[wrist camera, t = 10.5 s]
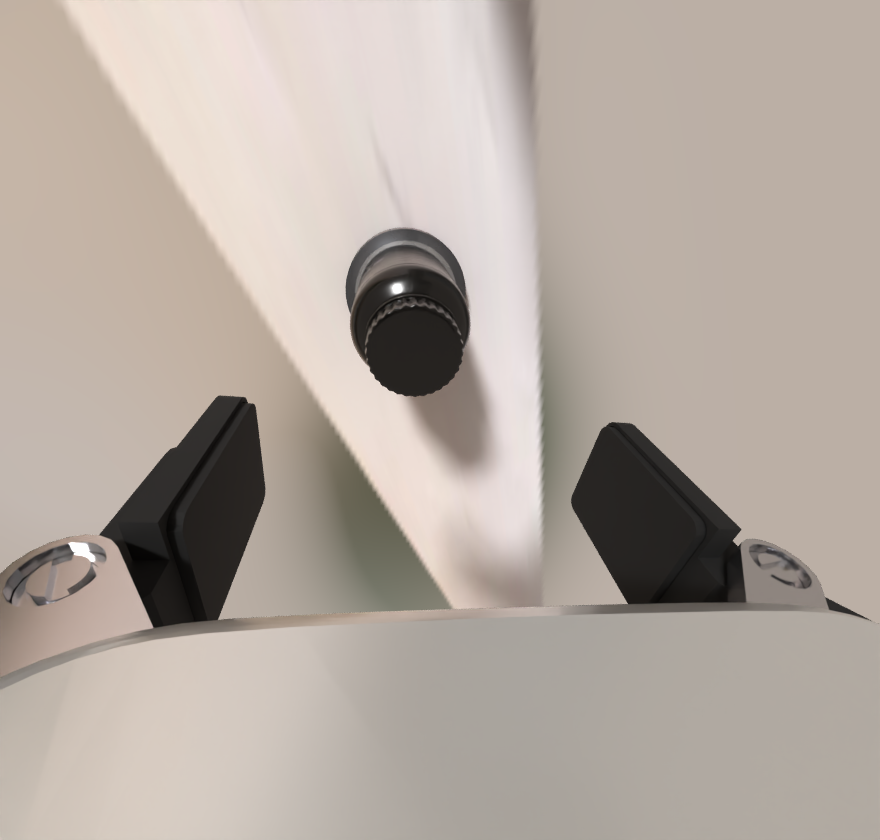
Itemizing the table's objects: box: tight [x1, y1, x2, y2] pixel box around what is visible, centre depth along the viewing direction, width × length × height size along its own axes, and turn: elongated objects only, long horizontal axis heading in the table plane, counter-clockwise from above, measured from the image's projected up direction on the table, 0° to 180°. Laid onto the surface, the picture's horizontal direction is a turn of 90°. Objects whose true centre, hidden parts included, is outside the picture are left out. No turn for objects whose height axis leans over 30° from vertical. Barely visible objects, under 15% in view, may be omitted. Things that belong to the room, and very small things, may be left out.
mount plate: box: [346, 227, 465, 314], centre depth 29 cm, size 9×9×2 cm
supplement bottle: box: [350, 245, 470, 397], centre depth 23 cm, size 7×7×12 cm
